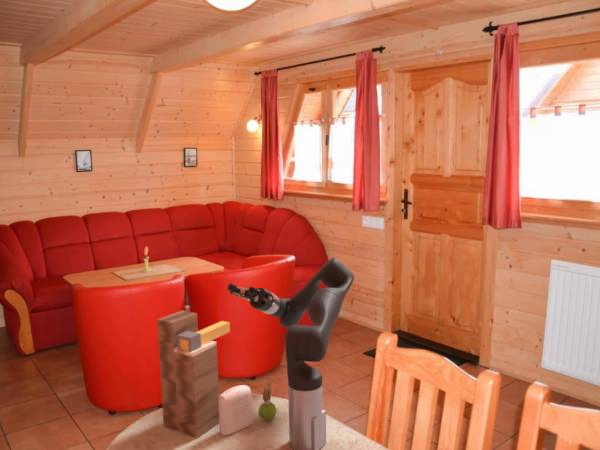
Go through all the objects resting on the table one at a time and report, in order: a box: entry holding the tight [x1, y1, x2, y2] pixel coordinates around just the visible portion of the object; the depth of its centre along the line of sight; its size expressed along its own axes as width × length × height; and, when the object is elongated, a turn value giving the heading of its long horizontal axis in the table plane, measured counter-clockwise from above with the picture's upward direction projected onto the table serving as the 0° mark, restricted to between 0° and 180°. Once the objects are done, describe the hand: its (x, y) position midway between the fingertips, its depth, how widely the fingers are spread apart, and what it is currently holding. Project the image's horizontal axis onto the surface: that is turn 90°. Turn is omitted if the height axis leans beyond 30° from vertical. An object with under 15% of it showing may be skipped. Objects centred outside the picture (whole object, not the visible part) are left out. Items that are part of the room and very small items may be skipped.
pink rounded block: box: [218, 384, 253, 436], centre depth 156 cm, size 10×4×12 cm, turn 134°
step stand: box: [156, 309, 220, 439], centre depth 157 cm, size 13×10×32 cm
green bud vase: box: [258, 376, 278, 422], centre depth 161 cm, size 5×6×12 cm
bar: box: [177, 320, 231, 352], centre depth 158 cm, size 5×18×4 cm, turn 148°
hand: (239, 288), depth 178 cm, fingers open, 8 cm apart
